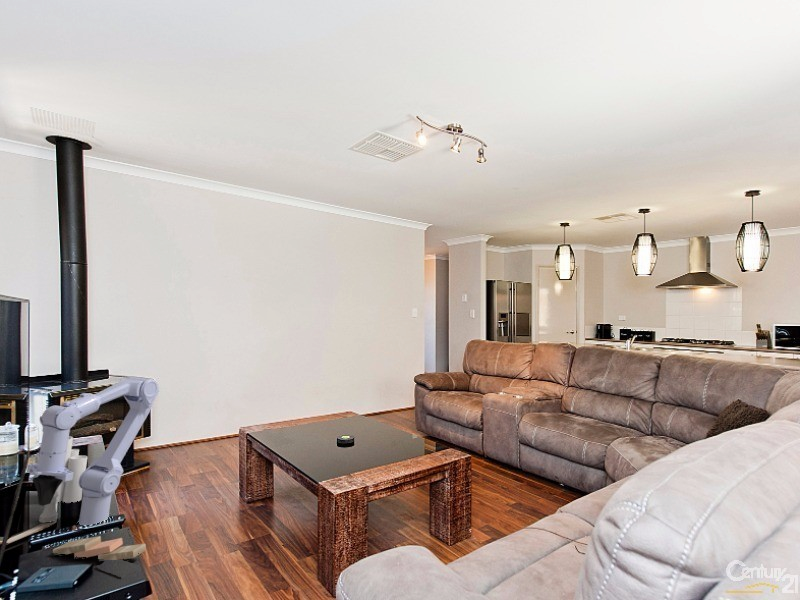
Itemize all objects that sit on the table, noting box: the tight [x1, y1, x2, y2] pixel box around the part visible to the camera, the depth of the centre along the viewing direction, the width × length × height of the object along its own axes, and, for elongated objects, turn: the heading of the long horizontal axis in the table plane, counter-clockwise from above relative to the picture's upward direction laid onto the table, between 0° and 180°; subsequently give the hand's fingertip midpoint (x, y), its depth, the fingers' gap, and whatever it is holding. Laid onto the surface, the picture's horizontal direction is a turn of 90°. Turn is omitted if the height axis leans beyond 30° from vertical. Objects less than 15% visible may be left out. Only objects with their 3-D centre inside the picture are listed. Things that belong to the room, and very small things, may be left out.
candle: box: [55, 435, 88, 504], centre depth 148 cm, size 11×7×20 cm, turn 120°
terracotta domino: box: [73, 537, 124, 558], centre depth 115 cm, size 2×5×9 cm
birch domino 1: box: [52, 535, 102, 555], centre depth 115 cm, size 2×5×9 cm
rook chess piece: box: [38, 491, 59, 524], centre depth 133 cm, size 4×4×8 cm
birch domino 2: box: [97, 543, 147, 560], centre depth 114 cm, size 2×5×9 cm
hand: (44, 504), depth 119 cm, fingers closed
